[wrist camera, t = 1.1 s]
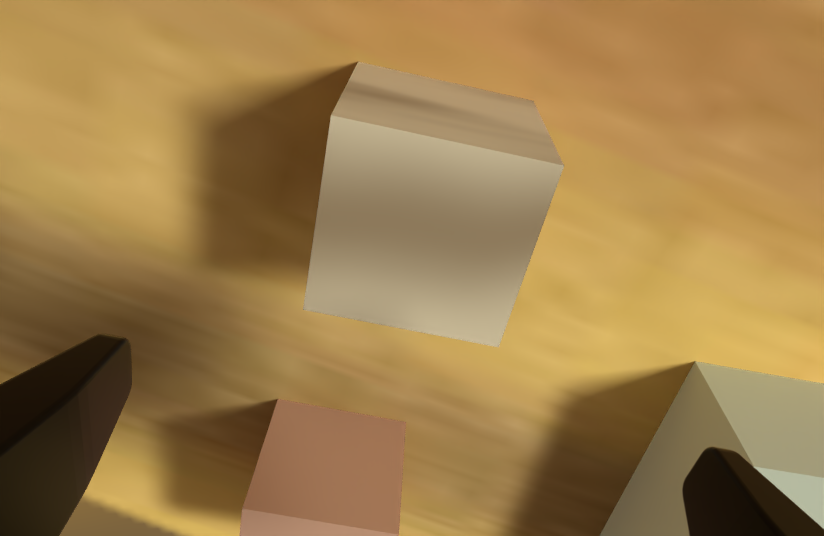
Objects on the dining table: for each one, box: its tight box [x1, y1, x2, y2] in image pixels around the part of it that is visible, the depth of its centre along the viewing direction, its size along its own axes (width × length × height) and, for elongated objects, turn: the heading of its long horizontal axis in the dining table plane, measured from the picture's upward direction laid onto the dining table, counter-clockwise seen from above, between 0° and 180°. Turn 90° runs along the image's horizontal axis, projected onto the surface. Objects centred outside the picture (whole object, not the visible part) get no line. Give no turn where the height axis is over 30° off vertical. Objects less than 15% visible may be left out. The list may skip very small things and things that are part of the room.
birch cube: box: [303, 62, 564, 347], centre depth 16 cm, size 5×5×5 cm
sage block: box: [600, 361, 824, 536], centre depth 23 cm, size 10×10×5 cm
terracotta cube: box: [240, 399, 406, 536], centre depth 23 cm, size 5×5×5 cm
